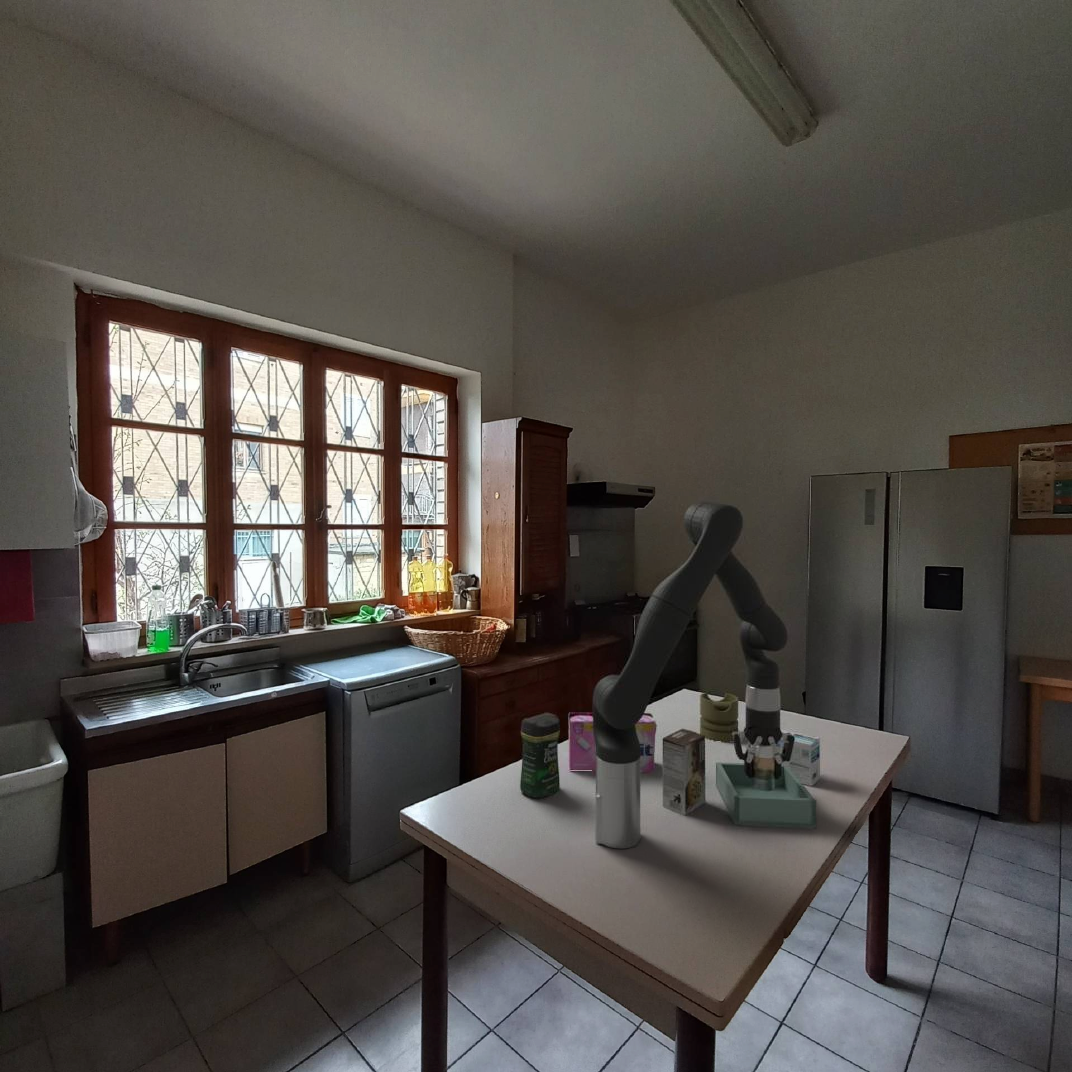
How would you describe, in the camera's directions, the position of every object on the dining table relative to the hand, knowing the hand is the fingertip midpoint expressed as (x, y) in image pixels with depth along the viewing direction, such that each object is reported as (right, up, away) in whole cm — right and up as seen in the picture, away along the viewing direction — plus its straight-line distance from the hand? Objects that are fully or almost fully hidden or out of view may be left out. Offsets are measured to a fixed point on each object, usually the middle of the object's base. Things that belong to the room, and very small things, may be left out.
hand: (762, 777), depth 135 cm
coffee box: (-18, -7, +1) cm, 19 cm away
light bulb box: (+14, -7, +16) cm, 23 cm away
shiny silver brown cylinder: (0, -2, 0) cm, 2 cm away
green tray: (0, -7, 0) cm, 7 cm away
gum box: (-32, -7, +23) cm, 40 cm away
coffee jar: (-52, -7, +8) cm, 53 cm away
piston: (+4, -6, +46) cm, 47 cm away
